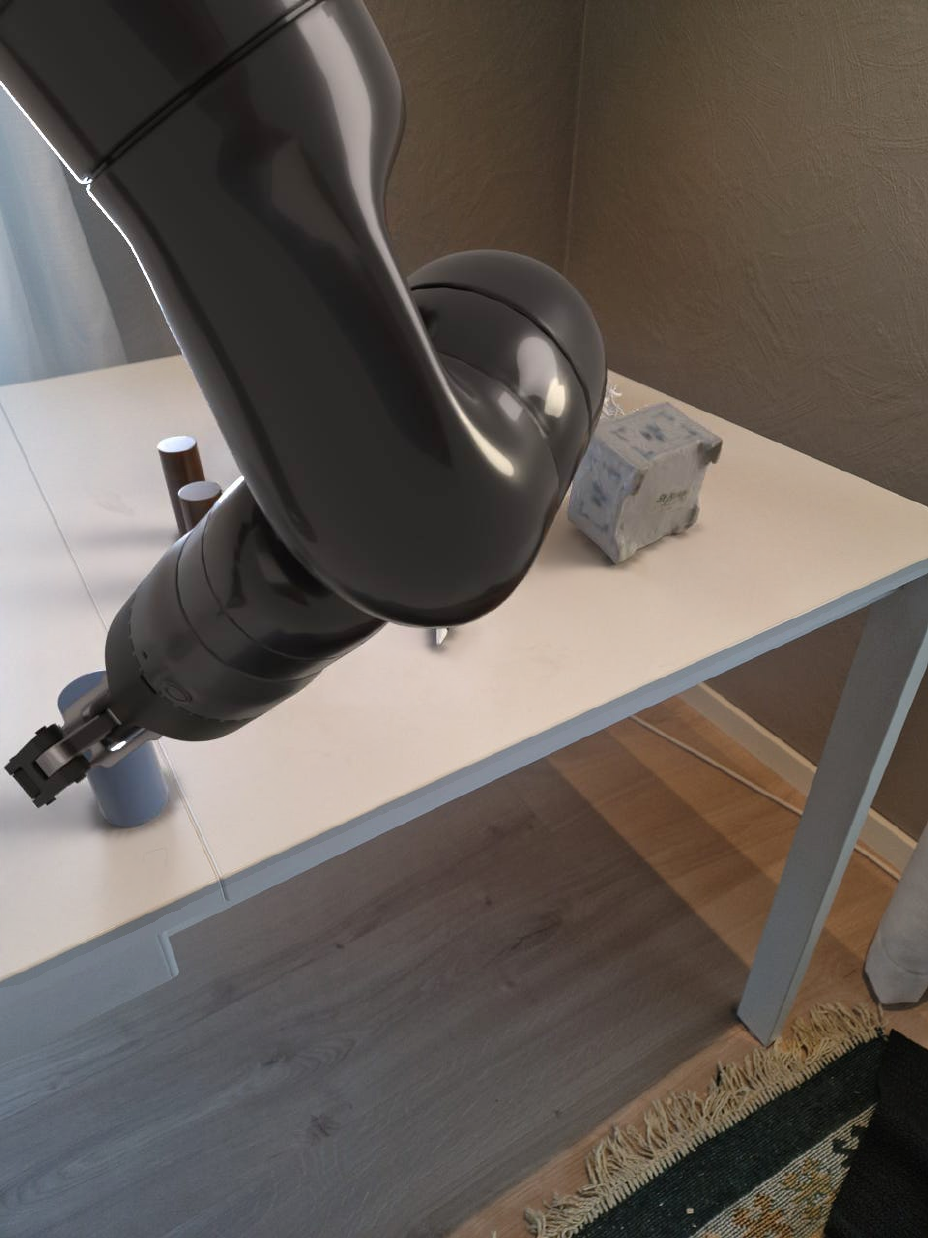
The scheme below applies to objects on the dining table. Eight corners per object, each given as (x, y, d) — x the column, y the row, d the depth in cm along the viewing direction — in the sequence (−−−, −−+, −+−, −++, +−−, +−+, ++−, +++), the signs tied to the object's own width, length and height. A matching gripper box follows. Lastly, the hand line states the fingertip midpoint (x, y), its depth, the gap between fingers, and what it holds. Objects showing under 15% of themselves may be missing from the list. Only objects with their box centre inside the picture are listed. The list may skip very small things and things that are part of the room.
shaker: (106, 836, 51) (60, 727, 45) (97, 790, 54) (53, 682, 48) (174, 813, 52) (138, 704, 47) (163, 769, 55) (127, 661, 50)
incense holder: (625, 572, 72) (638, 460, 66) (562, 529, 77) (569, 421, 71) (709, 537, 76) (729, 427, 70) (644, 498, 82) (657, 393, 75)
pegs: (206, 602, 70) (182, 504, 64) (177, 531, 78) (154, 440, 73) (245, 592, 71) (225, 495, 65) (212, 523, 79) (192, 432, 74)
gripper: (291, 484, 40) (178, 604, 52) (9, 649, 30) (-47, 747, 43) (390, 614, 40) (256, 702, 53) (144, 813, 31) (51, 864, 43)
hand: (120, 722), depth 48 cm, fingers open, 8 cm apart
